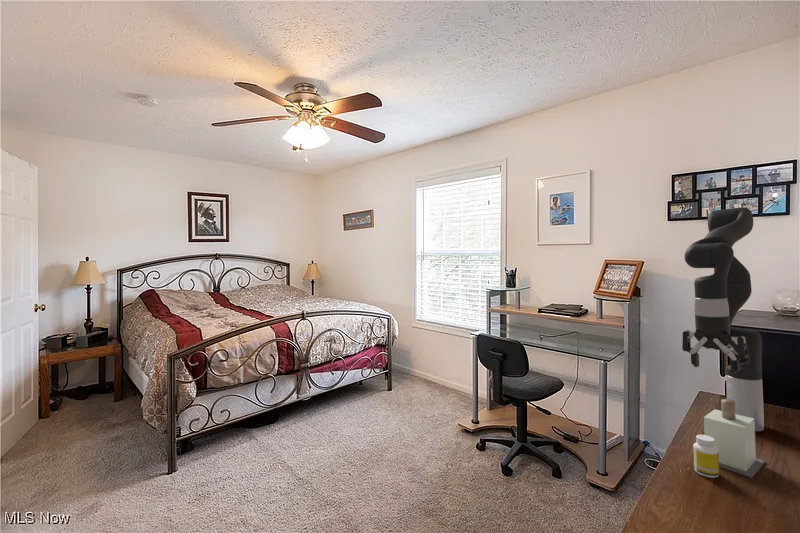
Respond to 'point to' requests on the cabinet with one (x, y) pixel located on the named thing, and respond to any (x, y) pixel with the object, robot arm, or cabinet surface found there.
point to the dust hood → (732, 435)
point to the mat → (749, 472)
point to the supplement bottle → (706, 456)
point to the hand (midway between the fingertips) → (714, 369)
